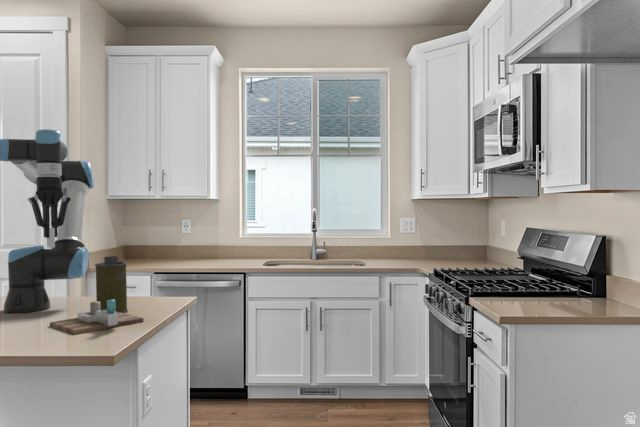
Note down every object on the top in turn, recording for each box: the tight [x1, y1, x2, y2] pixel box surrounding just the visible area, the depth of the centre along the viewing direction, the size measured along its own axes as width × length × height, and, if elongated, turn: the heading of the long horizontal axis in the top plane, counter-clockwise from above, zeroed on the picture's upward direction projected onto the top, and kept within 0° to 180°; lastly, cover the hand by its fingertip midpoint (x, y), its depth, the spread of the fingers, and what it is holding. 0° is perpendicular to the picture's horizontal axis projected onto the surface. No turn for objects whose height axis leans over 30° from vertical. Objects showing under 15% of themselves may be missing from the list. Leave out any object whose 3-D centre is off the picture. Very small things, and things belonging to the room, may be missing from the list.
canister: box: [95, 255, 129, 314], centre depth 189 cm, size 11×10×20 cm
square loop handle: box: [77, 299, 118, 326], centre depth 166 cm, size 17×8×8 cm, turn 45°
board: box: [49, 300, 145, 335], centre depth 169 cm, size 18×22×7 cm
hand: (51, 247), depth 177 cm, fingers closed
